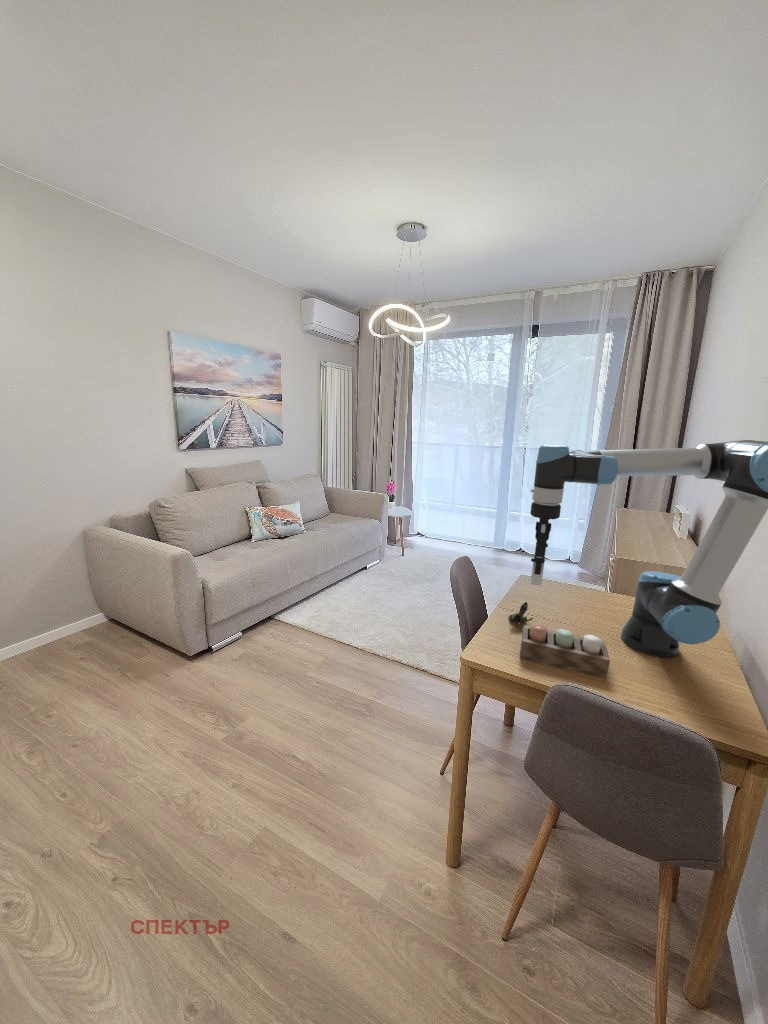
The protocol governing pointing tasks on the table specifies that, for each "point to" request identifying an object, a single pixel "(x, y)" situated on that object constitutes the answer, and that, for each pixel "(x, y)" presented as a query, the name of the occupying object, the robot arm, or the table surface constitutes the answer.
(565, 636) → the sage button
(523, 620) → the eagle figurine
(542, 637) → the pink rounded block
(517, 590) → the table surface
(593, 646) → the white rounded block
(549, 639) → the wooden egg holder
